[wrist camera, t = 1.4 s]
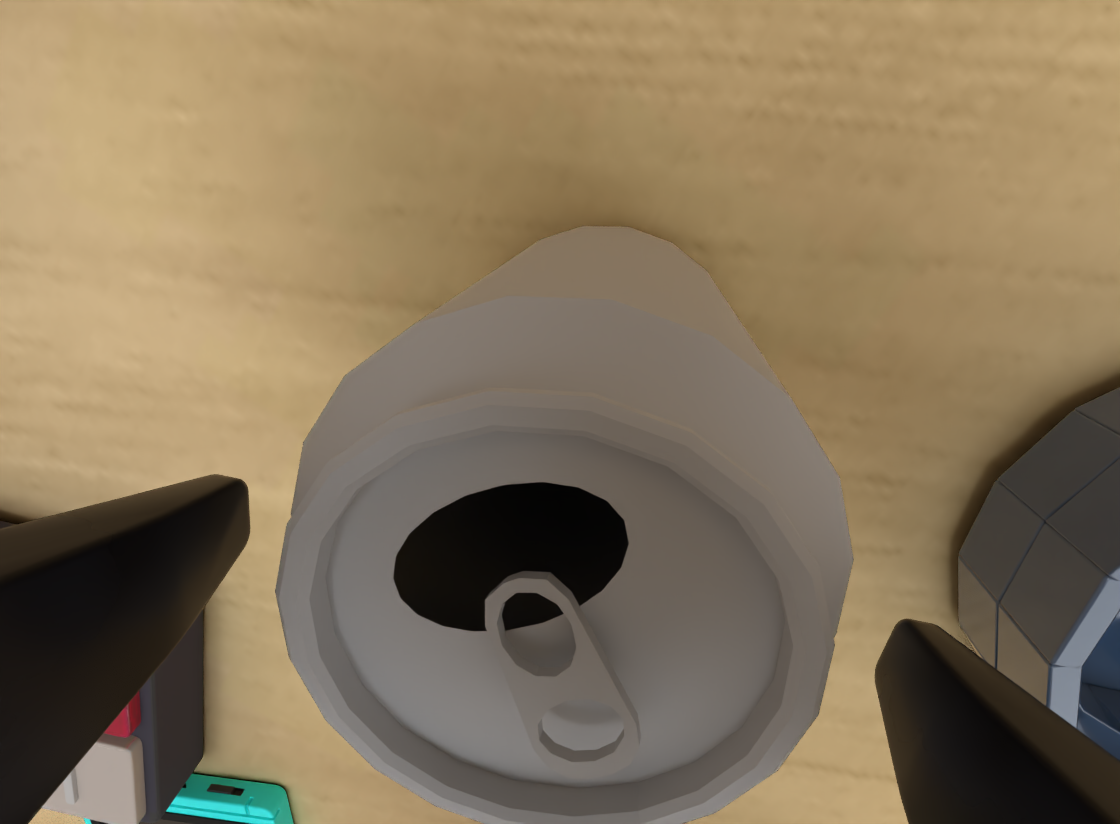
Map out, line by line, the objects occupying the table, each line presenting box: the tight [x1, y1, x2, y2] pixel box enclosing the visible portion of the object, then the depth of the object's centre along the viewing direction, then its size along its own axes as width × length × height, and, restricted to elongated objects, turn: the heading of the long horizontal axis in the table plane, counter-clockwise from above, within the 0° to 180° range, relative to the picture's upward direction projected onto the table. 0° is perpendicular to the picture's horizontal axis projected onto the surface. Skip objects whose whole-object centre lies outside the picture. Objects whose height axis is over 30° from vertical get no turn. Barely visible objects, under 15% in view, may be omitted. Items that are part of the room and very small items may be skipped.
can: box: [275, 226, 854, 824], centre depth 12 cm, size 8×8×12 cm
